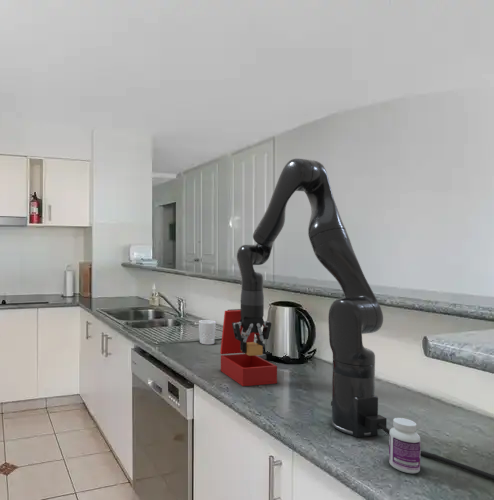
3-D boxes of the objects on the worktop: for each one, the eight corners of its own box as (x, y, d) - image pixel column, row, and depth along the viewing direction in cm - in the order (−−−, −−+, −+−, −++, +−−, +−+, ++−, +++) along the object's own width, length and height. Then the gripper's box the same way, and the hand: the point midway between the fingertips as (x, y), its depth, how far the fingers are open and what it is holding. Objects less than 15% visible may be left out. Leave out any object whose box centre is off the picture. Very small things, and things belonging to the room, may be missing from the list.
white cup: (205, 339, 190) (205, 319, 189) (219, 343, 183) (219, 321, 183) (194, 342, 184) (195, 321, 184) (208, 346, 178) (208, 324, 178)
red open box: (277, 383, 131) (277, 366, 131) (242, 386, 129) (242, 368, 129) (251, 368, 147) (251, 353, 147) (220, 370, 144) (220, 355, 144)
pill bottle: (427, 474, 80) (427, 427, 80) (402, 475, 80) (402, 428, 80) (406, 459, 86) (407, 415, 85) (382, 460, 85) (383, 416, 85)
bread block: (262, 354, 133) (262, 346, 133) (249, 355, 132) (249, 346, 132) (253, 350, 138) (253, 341, 138) (240, 351, 137) (240, 342, 137)
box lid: (257, 310, 142) (250, 305, 147) (226, 311, 140) (219, 306, 145) (252, 352, 146) (245, 346, 151) (221, 354, 143) (215, 347, 148)
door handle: (255, 359, 150) (293, 355, 152) (232, 345, 170) (266, 342, 172) (255, 368, 150) (294, 363, 152) (232, 353, 170) (267, 349, 172)
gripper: (238, 305, 130) (238, 356, 130) (277, 303, 133) (276, 354, 133) (227, 301, 137) (227, 350, 137) (264, 300, 140) (264, 348, 140)
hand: (251, 351), depth 135 cm, fingers closed on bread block, 5 cm apart
